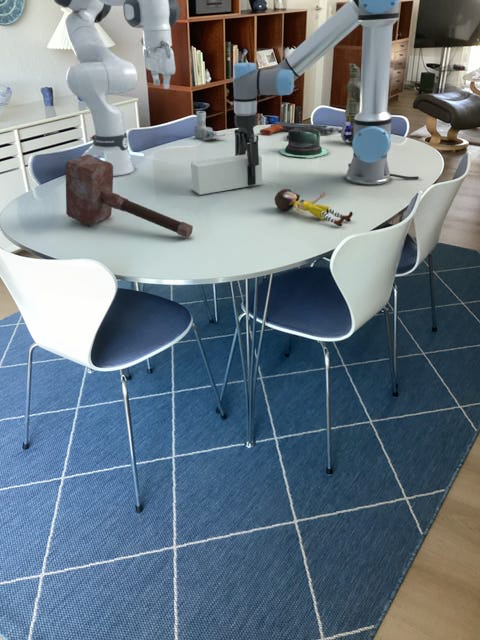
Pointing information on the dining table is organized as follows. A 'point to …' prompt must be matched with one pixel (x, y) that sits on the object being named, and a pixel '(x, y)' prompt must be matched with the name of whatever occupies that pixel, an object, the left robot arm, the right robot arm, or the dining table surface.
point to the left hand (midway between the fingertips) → (161, 87)
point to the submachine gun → (291, 126)
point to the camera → (204, 128)
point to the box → (223, 174)
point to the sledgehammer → (105, 196)
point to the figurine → (308, 206)
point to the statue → (353, 94)
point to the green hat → (304, 143)
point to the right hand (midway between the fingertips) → (247, 182)
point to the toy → (347, 132)
